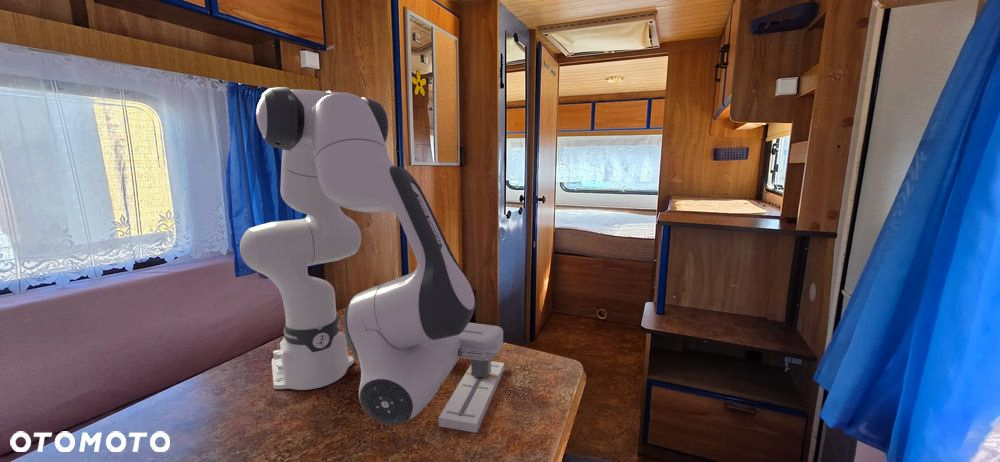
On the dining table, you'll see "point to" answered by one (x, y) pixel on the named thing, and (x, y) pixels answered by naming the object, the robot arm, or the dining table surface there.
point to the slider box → (471, 400)
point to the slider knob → (480, 368)
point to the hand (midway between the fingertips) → (458, 319)
